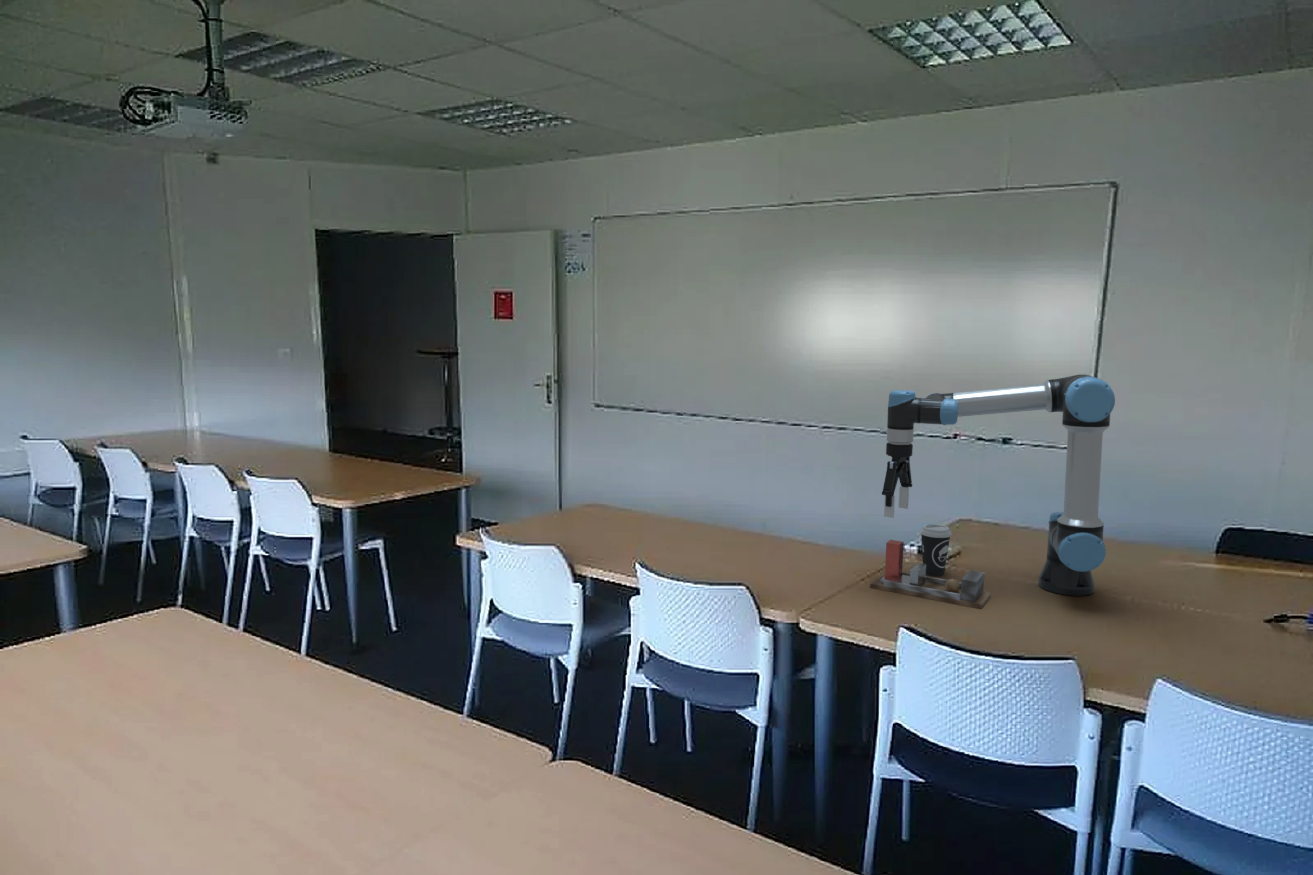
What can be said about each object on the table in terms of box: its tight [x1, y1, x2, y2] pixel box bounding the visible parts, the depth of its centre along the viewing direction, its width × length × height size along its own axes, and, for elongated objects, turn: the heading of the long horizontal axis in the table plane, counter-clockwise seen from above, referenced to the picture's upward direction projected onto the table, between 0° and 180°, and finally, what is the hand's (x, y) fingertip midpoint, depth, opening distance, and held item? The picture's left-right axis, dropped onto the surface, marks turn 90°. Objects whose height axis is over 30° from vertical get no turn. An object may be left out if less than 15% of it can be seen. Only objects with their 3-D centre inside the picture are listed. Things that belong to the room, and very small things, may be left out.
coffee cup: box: [919, 523, 953, 577], centre depth 258 cm, size 10×10×15 cm
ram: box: [881, 539, 927, 586], centre depth 244 cm, size 11×8×12 cm
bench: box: [869, 570, 992, 610], centre depth 240 cm, size 32×12×7 cm, turn 56°
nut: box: [945, 578, 960, 593], centre depth 237 cm, size 4×4×4 cm
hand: (896, 512), depth 244 cm, fingers open, 13 cm apart
